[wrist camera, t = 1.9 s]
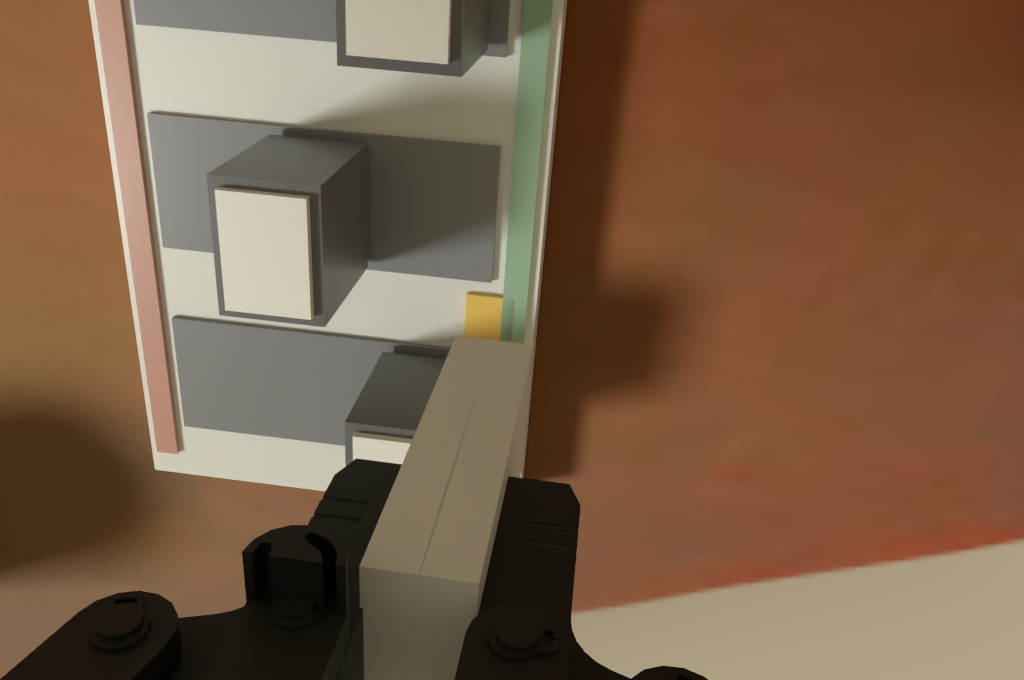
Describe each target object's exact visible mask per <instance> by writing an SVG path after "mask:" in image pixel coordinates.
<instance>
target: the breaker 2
mask: <svg viewBox="0 0 1024 680" xmlns="http://www.w3.org/2000/svg"><path fill="white" fill-rule="evenodd" d="M489 16H490V0H336V36H337V66H347V67H358V68H369V69H380V70H390V71H401V72H412V73H423V74H434V75H445V76H456V77H462V76H463V75H464V74H465V73H466V72H467V71H468V70H469V69H470V68H471V67H472V66H473V65H474V64H475V63H476V62H477V61H478V60H479V59H480V58H481V57H482V56H483V55H484V54H485V52H486V51H487V50H488V35H489Z"/></svg>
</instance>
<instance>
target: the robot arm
mask: <svg viewBox="0 0 1024 680" xmlns="http://www.w3.org/2000/svg"><path fill="white" fill-rule="evenodd" d="M532 356H533V345H531V344H522V343H514V342H506V341H497V340H489V339H480V338H472V337H463V336H456V337H455V339H454V341H453V344H452V346H451V349H450V351H449V353H448V356H447V358H446V361H445V363H444V365H443V368H442V370H441V372H440V375H439V377H438V380H437V382H436V384H435V387H434V389H433V392H432V394H431V396H430V399H429V401H428V404H427V406H426V408H425V411H424V413H423V415H422V418H421V420H420V423H419V425H418V427H417V430H416V432H415V435H414V437H413V439H412V442H411V444H410V447H409V449H408V451H407V454H406V456H405V458H404V461H403V463H402V464H395V463H388V462H380V461H372V460H365V459H357V458H356V459H355V460H354V461H352V462H351V463H350V464H348V465H347V466H346V467H344V468H343V469H342V470H340V471H339V472H338V473H336V474H335V475H334V477H333V479H332V480H331V482H330V484H329V486H328V488H327V490H326V492H325V494H324V496H323V500H321V501H320V503H319V505H318V507H317V509H316V511H315V512H314V517H312V518H311V520H310V522H309V524H308V525H290V526H286V527H282V528H278V529H274V530H270V531H268V532H267V533H265V534H263V535H261V536H259V537H257V538H255V539H254V540H253V541H252V542H251V543H250V544H249V545H248V546H247V547H246V548H245V549H244V550H243V551H242V556H243V567H244V578H245V588H246V599H247V602H246V604H245V606H244V607H242V608H239V609H236V610H234V611H230V612H224V613H219V614H213V615H203V616H194V617H185V618H178V615H177V613H176V611H175V609H174V607H173V604H172V603H171V602H170V601H168V600H167V599H165V598H163V597H162V596H160V595H159V594H154V593H149V592H143V591H133V592H124V593H117V594H114V595H111V596H108V597H105V598H103V599H100V600H97V601H95V602H94V603H92V604H91V605H89V606H88V607H86V608H84V609H83V610H81V611H80V612H78V613H77V614H76V615H75V616H74V617H72V618H71V619H70V620H69V621H68V622H67V623H65V624H64V625H63V626H62V627H61V628H60V629H58V630H57V631H56V632H55V633H54V634H53V635H51V636H50V637H49V638H48V639H47V640H46V641H44V642H43V643H42V644H41V645H40V646H39V647H37V648H36V649H35V650H34V651H33V652H32V653H30V654H29V655H28V656H27V657H26V658H24V659H23V660H22V661H21V662H20V663H19V664H17V665H16V666H15V667H14V668H13V669H12V670H10V671H9V672H8V673H7V674H6V675H5V676H3V677H2V678H1V679H0V680H708V679H706V678H705V677H703V676H701V675H699V674H696V673H694V672H691V671H689V670H687V669H685V668H678V667H669V666H660V667H655V668H650V669H645V670H643V671H641V672H640V673H639V674H637V675H636V676H634V677H633V678H632V679H630V678H628V677H625V676H623V675H621V674H618V673H616V672H614V671H612V670H610V669H608V668H606V667H604V666H602V665H600V664H599V663H597V662H596V661H595V660H593V659H592V658H591V657H590V656H589V655H587V654H586V653H585V652H584V651H583V649H582V648H581V647H580V645H579V644H578V642H577V641H576V639H575V637H574V634H573V632H572V627H571V609H572V597H573V586H574V574H575V563H576V550H577V540H578V528H579V517H580V504H579V502H578V500H577V498H576V496H575V494H574V492H573V490H572V488H571V486H570V485H569V484H564V483H556V482H548V481H541V480H533V479H526V478H520V475H521V470H522V465H523V456H524V445H525V434H526V423H527V412H528V401H529V390H530V378H531V367H532Z"/></svg>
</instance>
